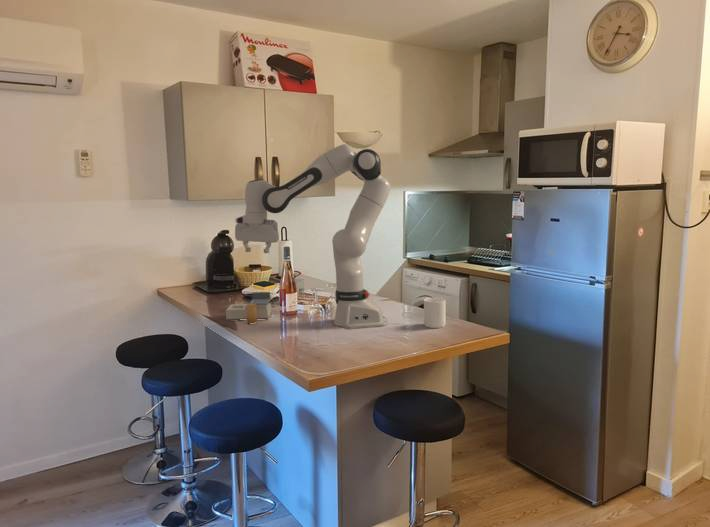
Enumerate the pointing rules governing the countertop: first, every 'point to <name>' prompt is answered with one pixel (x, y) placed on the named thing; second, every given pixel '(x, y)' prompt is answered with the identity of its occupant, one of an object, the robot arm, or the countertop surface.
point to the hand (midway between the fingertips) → (257, 252)
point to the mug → (434, 312)
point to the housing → (241, 311)
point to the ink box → (300, 285)
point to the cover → (260, 298)
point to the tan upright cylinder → (251, 313)
